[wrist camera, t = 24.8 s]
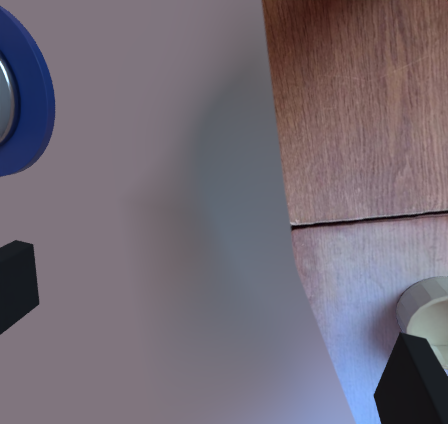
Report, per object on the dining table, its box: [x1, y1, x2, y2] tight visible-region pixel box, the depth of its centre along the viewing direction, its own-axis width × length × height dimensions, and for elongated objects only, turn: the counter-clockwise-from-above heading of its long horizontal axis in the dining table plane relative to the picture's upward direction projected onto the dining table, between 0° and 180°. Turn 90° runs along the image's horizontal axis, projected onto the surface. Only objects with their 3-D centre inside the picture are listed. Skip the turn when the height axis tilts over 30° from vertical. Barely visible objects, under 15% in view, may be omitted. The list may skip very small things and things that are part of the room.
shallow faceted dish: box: [396, 277, 448, 369], centre depth 36 cm, size 10×10×4 cm
